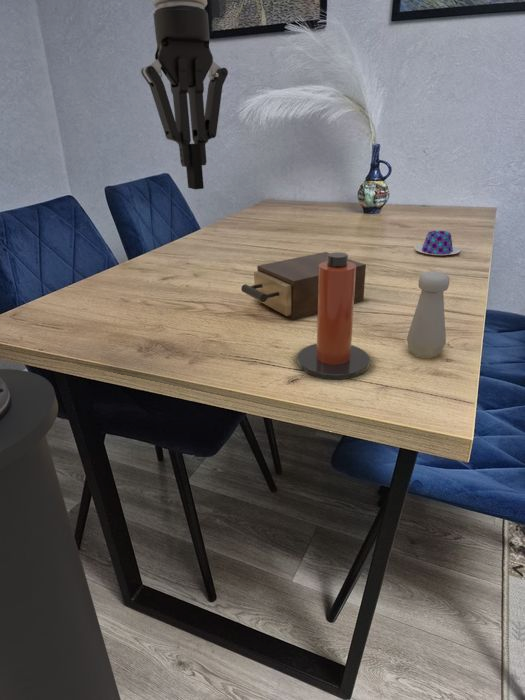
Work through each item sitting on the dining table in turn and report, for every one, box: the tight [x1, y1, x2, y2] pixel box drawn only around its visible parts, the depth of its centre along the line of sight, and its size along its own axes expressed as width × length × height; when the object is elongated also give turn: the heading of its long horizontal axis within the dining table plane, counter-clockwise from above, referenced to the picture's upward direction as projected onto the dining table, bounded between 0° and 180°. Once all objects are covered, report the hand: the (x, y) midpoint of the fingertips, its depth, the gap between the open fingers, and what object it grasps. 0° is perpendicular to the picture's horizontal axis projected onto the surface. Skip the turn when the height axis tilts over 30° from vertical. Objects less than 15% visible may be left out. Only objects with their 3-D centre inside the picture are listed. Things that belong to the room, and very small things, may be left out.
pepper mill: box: [316, 251, 356, 365], centre depth 69 cm, size 5×5×16 cm
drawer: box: [240, 270, 292, 317], centre depth 94 cm, size 21×11×6 cm, turn 122°
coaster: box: [296, 343, 371, 380], centre depth 73 cm, size 11×11×1 cm
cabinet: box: [256, 251, 367, 321], centre depth 96 cm, size 18×13×8 cm
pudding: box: [413, 230, 461, 257], centre depth 128 cm, size 12×12×5 cm
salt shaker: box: [406, 270, 450, 360], centre depth 72 cm, size 6×6×13 cm
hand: (195, 188), depth 75 cm, fingers closed
